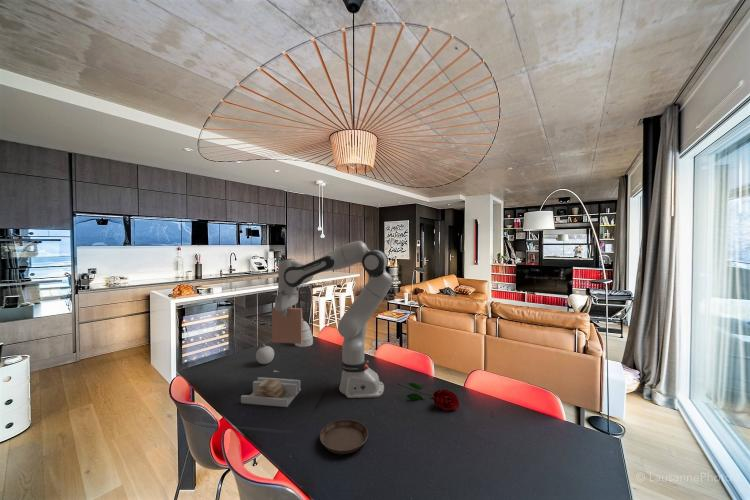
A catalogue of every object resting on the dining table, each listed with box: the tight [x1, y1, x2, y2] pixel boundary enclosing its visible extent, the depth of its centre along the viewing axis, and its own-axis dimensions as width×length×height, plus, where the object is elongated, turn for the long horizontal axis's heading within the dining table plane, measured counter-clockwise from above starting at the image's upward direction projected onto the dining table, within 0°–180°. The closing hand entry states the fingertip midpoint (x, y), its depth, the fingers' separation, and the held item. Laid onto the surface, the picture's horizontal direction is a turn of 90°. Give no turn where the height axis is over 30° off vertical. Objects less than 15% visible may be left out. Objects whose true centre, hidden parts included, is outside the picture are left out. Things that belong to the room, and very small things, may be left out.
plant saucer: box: [319, 419, 369, 455], centre depth 106 cm, size 18×18×3 cm
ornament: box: [255, 343, 275, 365], centre depth 175 cm, size 10×10×12 cm
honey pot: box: [294, 318, 314, 348], centre depth 209 cm, size 13×13×18 cm
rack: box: [240, 376, 302, 408], centre depth 136 cm, size 22×16×6 cm
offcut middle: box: [256, 386, 283, 398], centre depth 133 cm, size 10×6×2 cm, turn 82°
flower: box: [397, 381, 460, 412], centre depth 132 cm, size 9×9×30 cm
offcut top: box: [258, 380, 281, 392], centre depth 133 cm, size 8×6×2 cm
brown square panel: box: [271, 306, 303, 344], centre depth 151 cm, size 16×2×18 cm, turn 82°
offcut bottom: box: [255, 391, 285, 398], centre depth 133 cm, size 12×6×2 cm, turn 82°
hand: (287, 315), depth 151 cm, fingers closed on brown square panel, 2 cm apart
